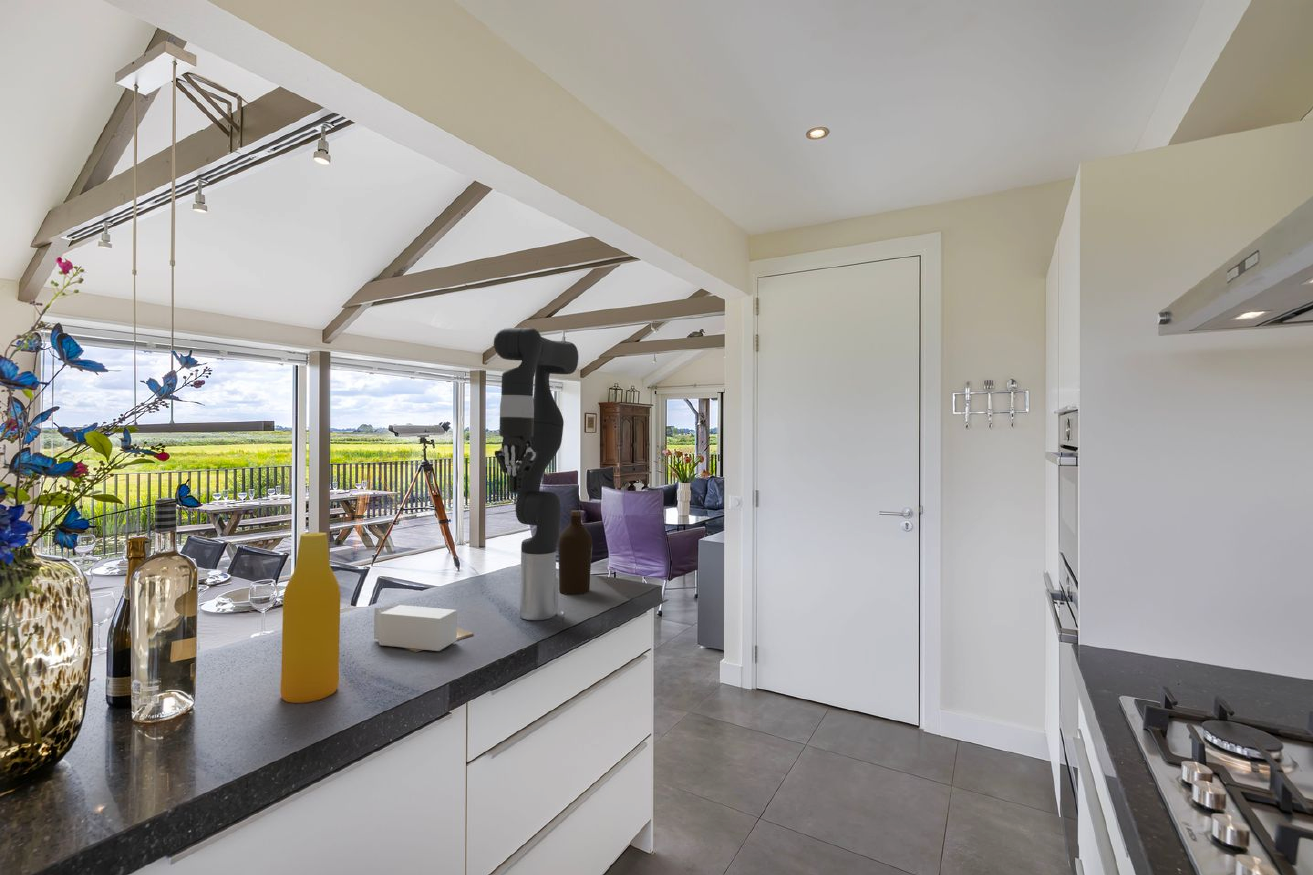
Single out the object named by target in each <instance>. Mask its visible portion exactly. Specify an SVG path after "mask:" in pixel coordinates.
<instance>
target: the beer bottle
mask: <svg viewBox="0 0 1313 875" xmlns="http://www.w3.org/2000/svg"><path fill="white" fill-rule="evenodd" d="M327 534H328V533H326V532H309V533H308V532H307V533H302V534H300V538H299V543H298V548H297V556H296V563H295V569H294V571H293V573H292V575H291V577H290V578H289V580H288V582H287V584H286V586H285V588H284V593H283V598H282V625H281V626H282V629H281V632H282V633H281V634H282V635H281V638H282V639H281V667H280V668H281V670H280V671H281V673H280V675H281V676H280V691H279V692H280V696H281V698H282V700H283V701H285V702H287V703H293V704H304V703H311V702H317V701H319V700H322V699H325V698H328V697H330V696H331V695H333V694H334V693H336V692H337V690H338V687H339V683H340V633H341V631H340V629H341V627H340V626H341V601H342V600H341V597H342V596H341V594H342V593H341V588H340V584H339V581H338V579H337V578H336V575H335V573H334V571H333V569H332V568H331V563H330V562H331V561H330V553H329V543H328V535H327Z"/></svg>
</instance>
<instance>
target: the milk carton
mask: <svg viewBox="0 0 1313 875" xmlns="http://www.w3.org/2000/svg"><path fill="white" fill-rule="evenodd" d="M373 613H374V616H373V618H374V619H373V620H374V621H373V639H375V640H378V645H379V646H387V647H396V648H404V649H406V648H414V649H424V650H423V651H433V652H434V651H435V652H440V651H442V650H444V649H445V648H446V647H448V646H450V645H451V644H453V643H454V642H456V641H458V640H457V628H458V610H457V609H452V608H451V609H450V608H440V607H439V608H438V607H427V606H426V607H425V606H415V605H403V604H397V605H392V606H391V605H390V606H383V607H374V612H373Z"/></svg>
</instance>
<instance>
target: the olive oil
mask: <svg viewBox="0 0 1313 875" xmlns="http://www.w3.org/2000/svg"><path fill="white" fill-rule="evenodd" d="M569 519H570V521H569V524H568V525H567V526H566V527H565V528H564V529H563V530H562V532H560V533H559V538H558V542H557V551H558V552H557V553H558V593H560V594H564V595H570V596H571V595H572V596H574V595H575V596H576V595H577V596H578V595H584V594H587V593H589V592H590V586H591V583H590V582H591V571H592V570H591V569H592V555H593V554H592V553H593V538H592V534H591V533H590V532H589V530H588V529H587V528H586V527H585V526H584V525H583V524H582V510H571V511H570V518H569Z"/></svg>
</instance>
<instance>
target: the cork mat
mask: <svg viewBox="0 0 1313 875" xmlns="http://www.w3.org/2000/svg"><path fill="white" fill-rule="evenodd" d="M474 635H475V634H474V632H471V631H469V630H465V629H463V628H459V627H457V640H456V641H458V640H462V639H465V638H466V639H467V638H470V637H472V636H474ZM405 649H406V650H408V651H411V652H413V653H417V652H421V651H425V650H424V649H414V648H405Z"/></svg>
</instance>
